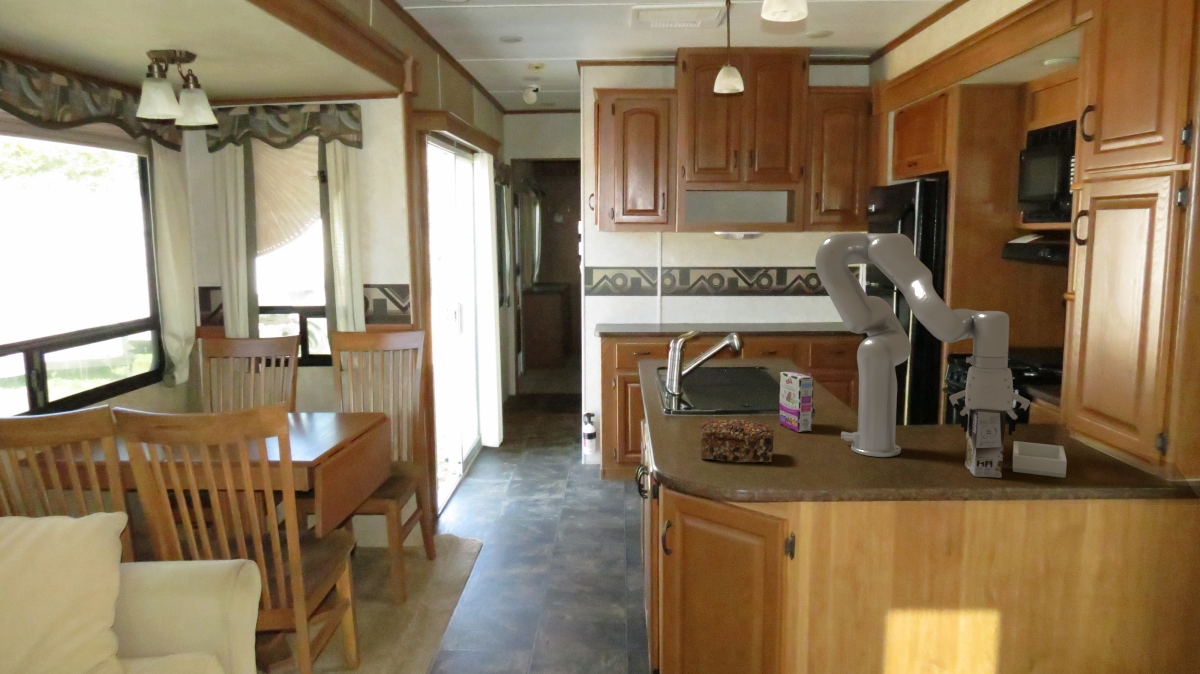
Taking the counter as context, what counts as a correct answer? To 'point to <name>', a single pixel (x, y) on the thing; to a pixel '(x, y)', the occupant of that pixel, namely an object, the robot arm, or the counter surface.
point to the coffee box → (985, 442)
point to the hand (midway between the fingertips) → (987, 432)
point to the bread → (736, 441)
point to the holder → (1039, 459)
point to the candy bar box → (796, 401)
